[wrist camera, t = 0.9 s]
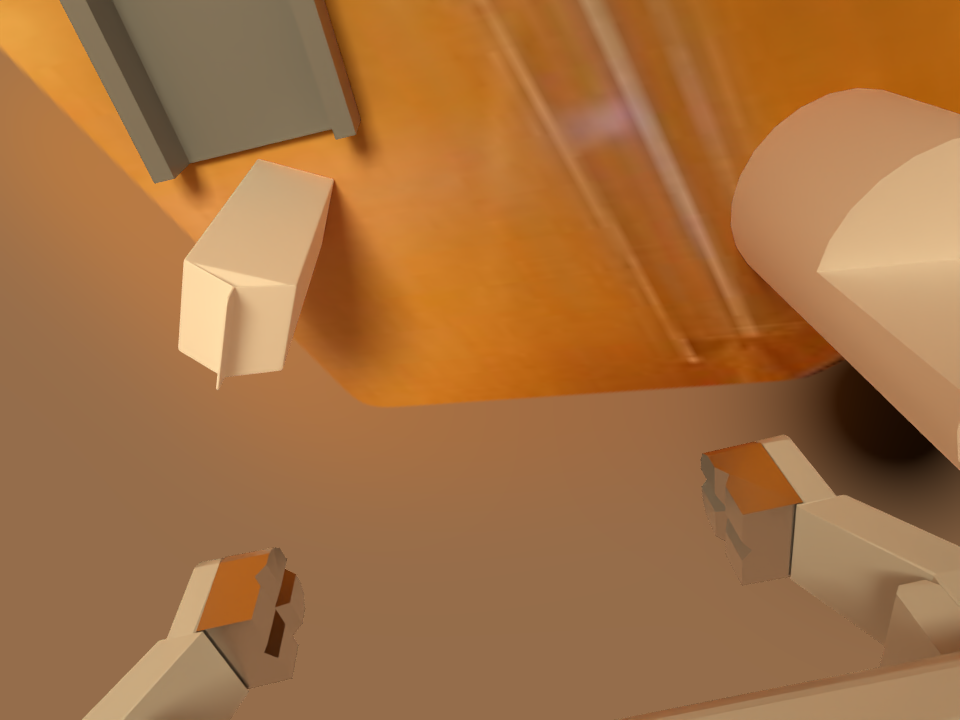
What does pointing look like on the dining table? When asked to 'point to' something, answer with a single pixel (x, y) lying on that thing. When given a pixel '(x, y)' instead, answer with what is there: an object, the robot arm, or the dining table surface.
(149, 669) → the robot arm
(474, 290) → the dining table surface
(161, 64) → the trough
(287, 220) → the milk
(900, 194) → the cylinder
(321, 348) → the dining table surface
